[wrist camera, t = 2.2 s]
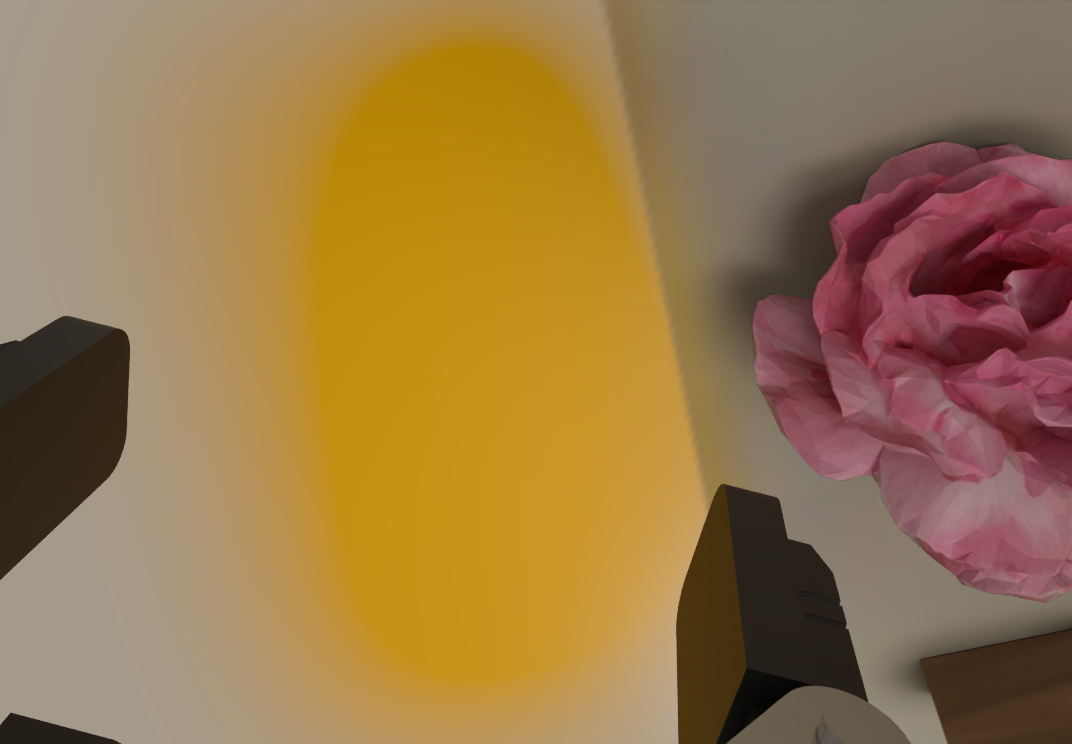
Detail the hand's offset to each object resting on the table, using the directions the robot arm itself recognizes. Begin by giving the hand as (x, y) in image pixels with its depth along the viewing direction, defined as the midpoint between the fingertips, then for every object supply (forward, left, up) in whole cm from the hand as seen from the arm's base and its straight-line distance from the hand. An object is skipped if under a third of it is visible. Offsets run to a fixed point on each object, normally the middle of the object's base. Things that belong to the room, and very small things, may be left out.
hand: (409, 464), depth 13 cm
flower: (0, +12, -17) cm, 21 cm away
